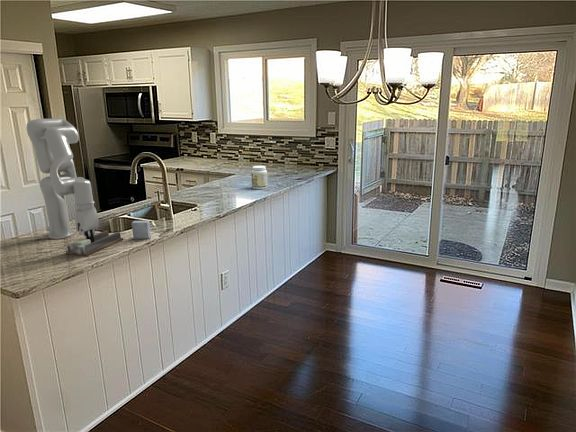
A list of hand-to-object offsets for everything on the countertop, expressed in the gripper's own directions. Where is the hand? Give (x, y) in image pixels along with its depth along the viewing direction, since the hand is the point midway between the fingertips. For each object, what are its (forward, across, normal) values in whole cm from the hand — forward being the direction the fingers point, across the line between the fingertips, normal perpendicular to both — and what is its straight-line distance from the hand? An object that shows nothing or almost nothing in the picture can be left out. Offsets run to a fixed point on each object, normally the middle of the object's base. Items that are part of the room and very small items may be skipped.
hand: (90, 243), depth 199 cm
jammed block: (+1, +5, 0) cm, 5 cm away
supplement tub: (+3, -150, +21) cm, 151 cm away
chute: (+3, -3, 0) cm, 4 cm away
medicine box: (+3, -21, +13) cm, 25 cm away
